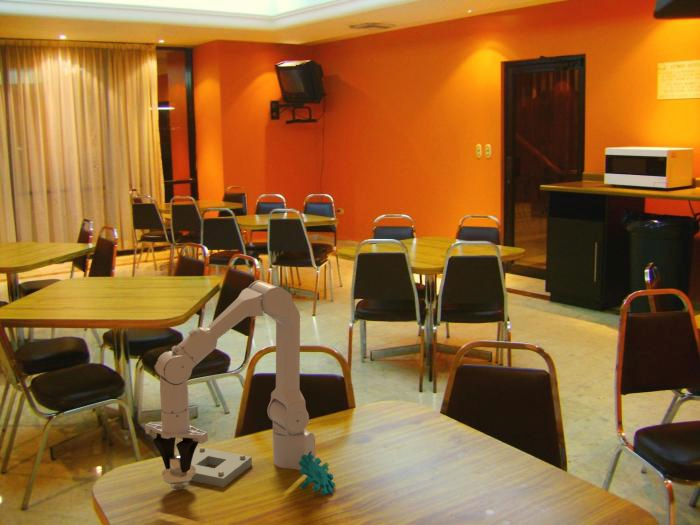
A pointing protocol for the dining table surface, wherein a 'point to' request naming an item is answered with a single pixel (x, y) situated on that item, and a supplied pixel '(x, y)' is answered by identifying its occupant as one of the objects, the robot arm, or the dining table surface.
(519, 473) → the dining table surface
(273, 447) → the robot arm
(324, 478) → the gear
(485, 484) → the dining table surface
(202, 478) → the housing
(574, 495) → the dining table surface
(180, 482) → the end cap
